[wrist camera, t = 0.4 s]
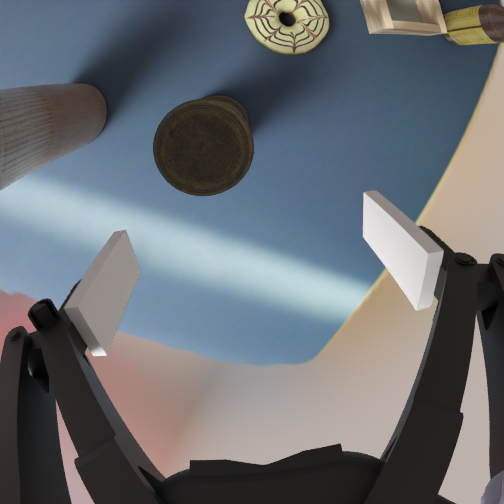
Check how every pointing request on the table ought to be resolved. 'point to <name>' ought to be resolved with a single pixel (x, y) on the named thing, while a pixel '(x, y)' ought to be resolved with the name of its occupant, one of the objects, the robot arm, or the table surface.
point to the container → (204, 145)
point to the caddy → (404, 17)
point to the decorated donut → (283, 37)
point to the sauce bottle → (475, 25)
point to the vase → (46, 125)
